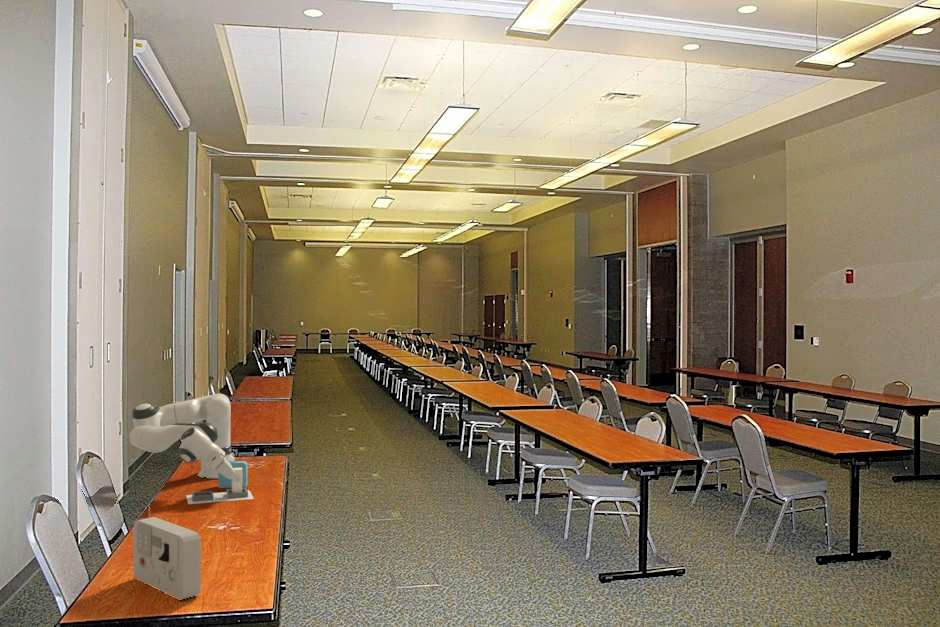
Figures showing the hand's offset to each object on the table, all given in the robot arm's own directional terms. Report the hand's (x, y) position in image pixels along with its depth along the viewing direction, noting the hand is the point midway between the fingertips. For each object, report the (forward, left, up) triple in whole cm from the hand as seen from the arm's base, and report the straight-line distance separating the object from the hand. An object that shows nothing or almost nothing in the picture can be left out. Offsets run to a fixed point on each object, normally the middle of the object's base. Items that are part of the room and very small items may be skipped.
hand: (238, 479), depth 329 cm
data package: (-18, -1, -8) cm, 20 cm away
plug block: (0, -1, -5) cm, 5 cm away
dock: (0, -8, -8) cm, 11 cm away
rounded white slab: (+102, -31, -8) cm, 107 cm away
